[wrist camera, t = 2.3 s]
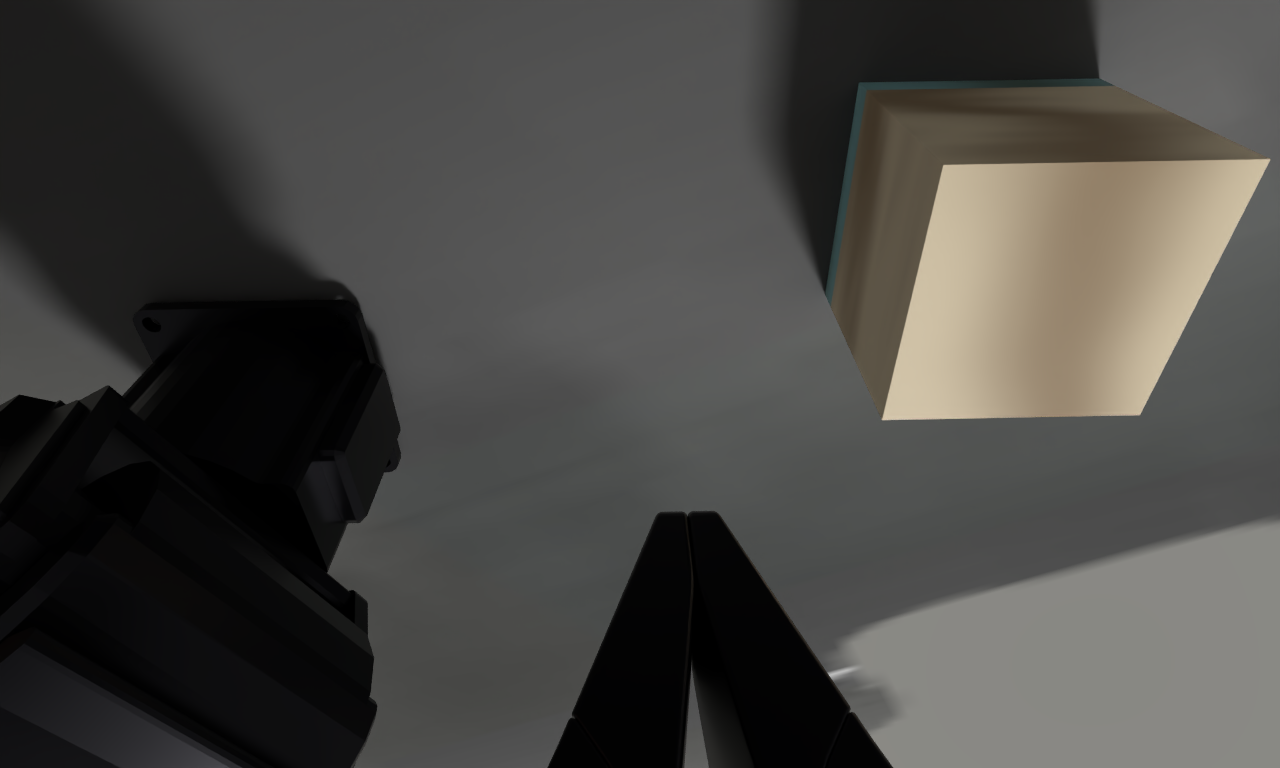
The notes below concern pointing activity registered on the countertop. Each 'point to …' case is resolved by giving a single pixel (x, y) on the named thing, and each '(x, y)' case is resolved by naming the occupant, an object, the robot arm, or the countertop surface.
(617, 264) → the countertop surface
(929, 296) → the maple cube
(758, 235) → the countertop surface
